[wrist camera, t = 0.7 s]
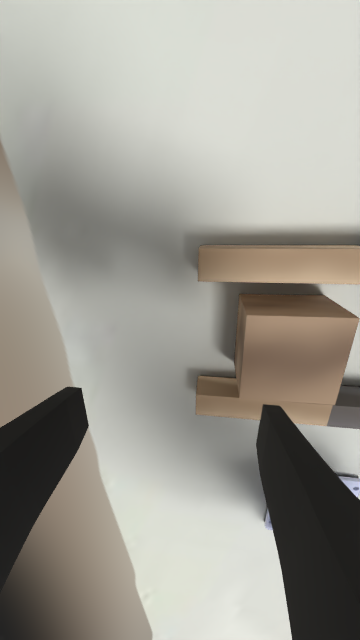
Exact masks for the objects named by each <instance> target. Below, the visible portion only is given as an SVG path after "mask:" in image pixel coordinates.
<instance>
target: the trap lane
mask: <svg viewBox="0 0 360 640" xmlns="http://www.w3.org/2000/svg"><path fill="white" fill-rule="evenodd" d="M198 281H207V282H261V283H315V284H360V245H201V246H200V247H199V257H198ZM263 404H267V405H278V406H281V407H282V409H283V410H284V411H285V412H286V414H287V415H288V416H289V418H290V419H291V420H292V422H293V423H297V424H309V425H320V426H331V427H342V428H353V429H360V387H354V386H340V389H339V393H338V396H337V400H336V403H335V405H326V404H312V403H298V402H284V401H270V400H256V399H242V398H239V392H238V385H237V379H236V378H223V377H208V376H198V381H197V390H196V415H208V416H219V417H230V418H241V419H253V420H260V419H261V413H262V407H263Z"/></svg>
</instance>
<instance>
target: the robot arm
mask: <svg viewBox="0 0 360 640" xmlns="http://www.w3.org/2000/svg"><path fill="white" fill-rule="evenodd" d="M88 426H89V425H88V420H87V415H86V409H85V404H84V399H83V394H82V389H81V388H76V387H66V388H64V389H63V390H61V391H59V392H57V393H56V394H55V395H53V396H51V397H49V398H48V399H46V400H44V401H43V402H41V403H40V404H38V405H37V406H35V407H33V408H32V409H30V410H29V411H27V412H25V413H24V414H22V415H20V416H19V417H17V418H16V419H14V420H12V421H11V422H9V423H7V424H6V425H4V426H2V427H1V428H0V592H1V590H2V588H3V586H4V584H5V582H6V579H7V577H8V575H9V573H10V571H11V569H12V567H13V565H14V562H15V561H16V559H17V557H18V555H19V553H20V551H21V549H22V547H23V544H24V542H25V541H26V539H27V537H28V535H29V533H30V531H31V529H32V527H33V525H34V523H35V522H36V520H37V518H38V516H39V515H40V513H41V511H42V509H43V507H44V506H45V504H46V503H47V501H48V499H49V497H50V496H51V494H52V493H53V491H54V489H55V488H56V486H57V484H58V482H59V481H60V480H61V478H62V476H63V474H64V473H65V471H66V469H67V468H68V466H69V464H70V463H71V461H72V459H73V458H74V456H75V454H76V453H77V450H78V449H79V446H80V444H81V442H82V440H83V438H84V435H85V433H86V431H87V429H88ZM256 447H257V455H258V463H259V471H260V476H261V481H262V485H263V490H264V494H265V498H266V503H267V507H268V510H267V514H266V519H265V527H266V528H267V529H269V530H273V533H274V537H275V541H276V545H277V550H278V555H279V560H280V565H281V570H282V575H283V582H284V588H285V594H286V601H287V607H288V614H289V620H290V627H291V634H292V640H360V500H359V499H358V496H359V493H360V479H358V478H351V477H342V476H337V475H336V474H335V473H334V471H333V470H332V469H331V468H330V467H329V466H328V465H327V463H326V462H325V461H324V460H323V459H322V457H321V456H320V455H319V454H318V453H317V452H316V450H315V449H314V448H313V447H312V446H311V444H310V443H309V442H308V441H307V439H306V438H305V437H304V436H303V434H302V433H301V432H300V431H299V429H298V428H297V427H296V425H295V424H294V423H293V422H292V420H291V419H290V418H289V416H288V415H287V414H286V412H285V411H284V410H283V409H282V407H281V406H278V405H267V404H263V407H262V413H261V419H260V425H259V431H258V437H257V443H256Z"/></svg>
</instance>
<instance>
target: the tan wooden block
mask: <svg viewBox="0 0 360 640" xmlns="http://www.w3.org/2000/svg"><path fill="white" fill-rule="evenodd" d="M359 319H360V318H358V317H357V316H355V315H354V314H352V313H351V312H349V311H348V310H346V309H345V308H343V307H342V306H340V305H338V304H337V303H335V302H334V301H332V300H331V299H329V298H328V297H326V296H325V295H269V294H239V304H238V317H237V331H236V344H235V358H234V365H235V372H236V379H237V385H238V392H239V398H242V399H256V400H270V401H284V402H298V403H312V404H326V405H335V403H336V400H337V396H338V393H339V389H340V386H341V382H342V379H343V375H344V372H345V368H346V365H347V361H348V357H349V354H350V350H351V347H352V343H353V340H354V336H355V333H356V329H357V326H358V322H359Z"/></svg>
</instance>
